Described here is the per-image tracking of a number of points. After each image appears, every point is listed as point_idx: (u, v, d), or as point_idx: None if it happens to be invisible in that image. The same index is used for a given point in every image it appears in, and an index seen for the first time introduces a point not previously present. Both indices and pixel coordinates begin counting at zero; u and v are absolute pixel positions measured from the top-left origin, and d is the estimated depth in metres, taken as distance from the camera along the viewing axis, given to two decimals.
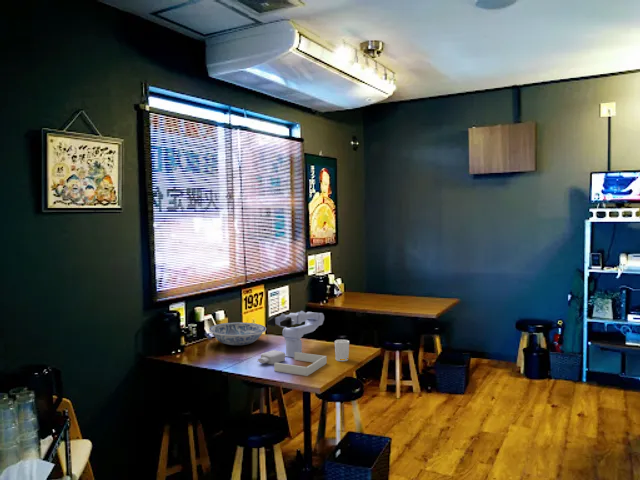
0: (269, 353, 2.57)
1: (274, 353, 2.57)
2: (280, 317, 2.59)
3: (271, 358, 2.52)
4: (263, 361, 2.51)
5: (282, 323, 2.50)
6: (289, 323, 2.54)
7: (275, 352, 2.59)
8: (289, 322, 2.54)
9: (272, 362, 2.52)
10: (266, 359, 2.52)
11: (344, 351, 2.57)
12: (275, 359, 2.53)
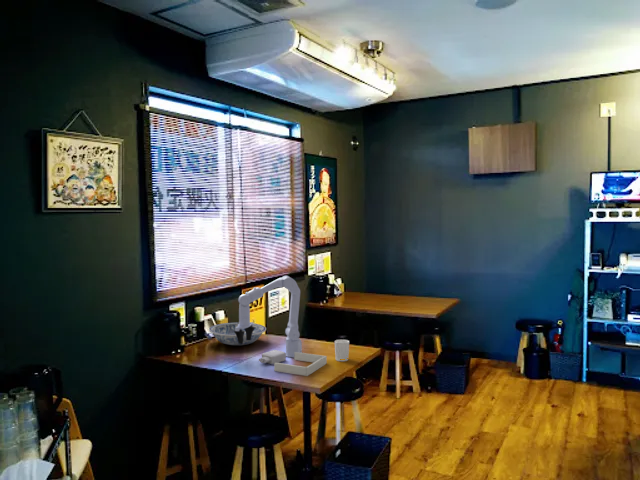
0: (270, 353, 2.57)
1: (275, 353, 2.57)
2: None
3: (272, 358, 2.52)
4: (264, 361, 2.51)
5: (239, 341, 2.58)
6: None
7: (276, 352, 2.59)
8: None
9: (273, 362, 2.52)
10: (267, 359, 2.52)
11: (344, 351, 2.57)
12: (276, 359, 2.54)
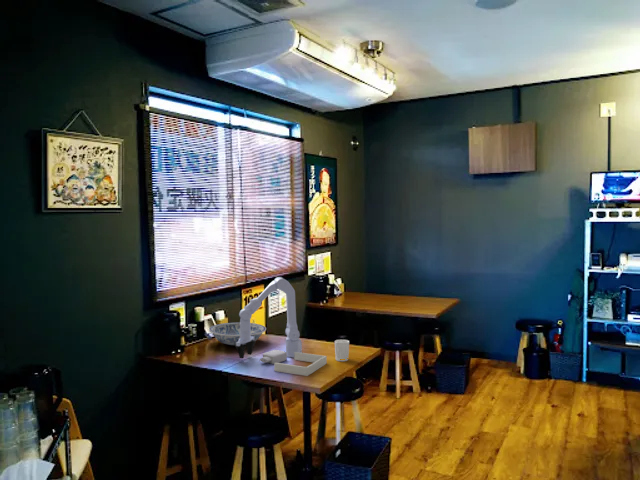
0: (271, 353, 2.58)
1: (276, 353, 2.58)
2: None
3: (273, 358, 2.53)
4: (265, 361, 2.52)
5: (240, 356, 2.58)
6: None
7: (277, 352, 2.60)
8: None
9: (274, 362, 2.53)
10: (268, 359, 2.53)
11: (344, 351, 2.57)
12: (277, 359, 2.54)
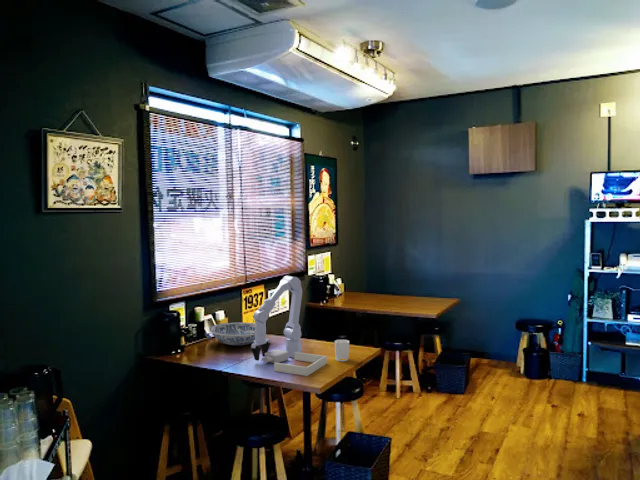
0: (273, 352, 2.58)
1: (278, 352, 2.58)
2: None
3: (275, 357, 2.53)
4: (267, 360, 2.52)
5: (256, 358, 2.54)
6: None
7: (279, 351, 2.60)
8: None
9: (276, 361, 2.53)
10: (270, 358, 2.53)
11: (344, 351, 2.57)
12: (279, 358, 2.54)
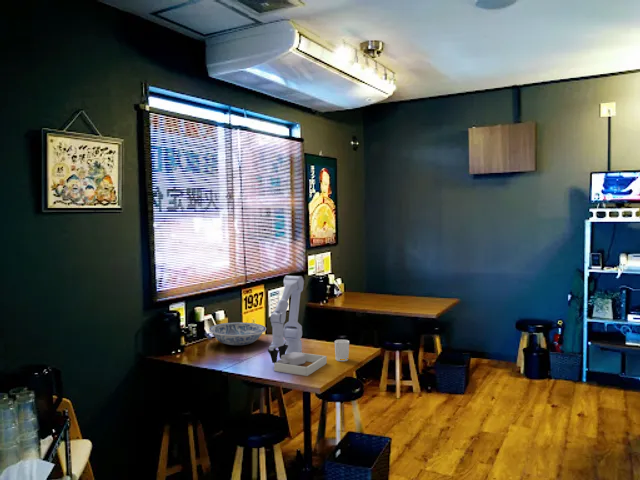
0: (289, 355, 2.53)
1: (294, 355, 2.52)
2: None
3: (290, 360, 2.48)
4: (282, 363, 2.47)
5: (273, 361, 2.49)
6: None
7: (295, 354, 2.54)
8: None
9: (291, 364, 2.48)
10: (285, 361, 2.48)
11: (344, 351, 2.57)
12: (294, 361, 2.49)
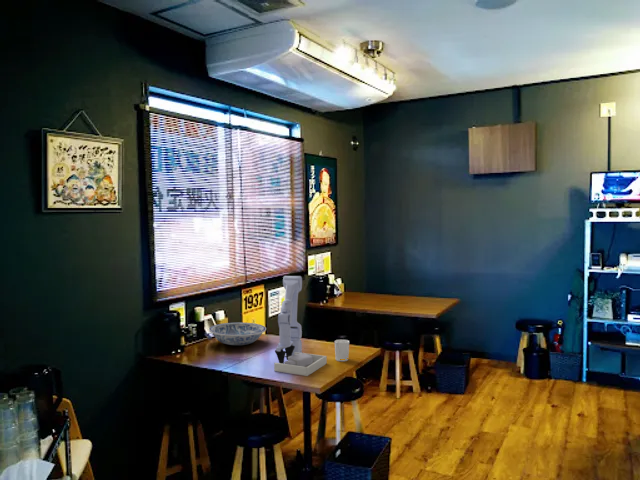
0: (296, 356, 2.51)
1: (301, 356, 2.51)
2: None
3: (297, 361, 2.46)
4: (289, 364, 2.45)
5: (280, 362, 2.48)
6: None
7: (302, 355, 2.52)
8: None
9: (298, 365, 2.46)
10: (292, 362, 2.46)
11: (344, 351, 2.57)
12: (302, 362, 2.47)
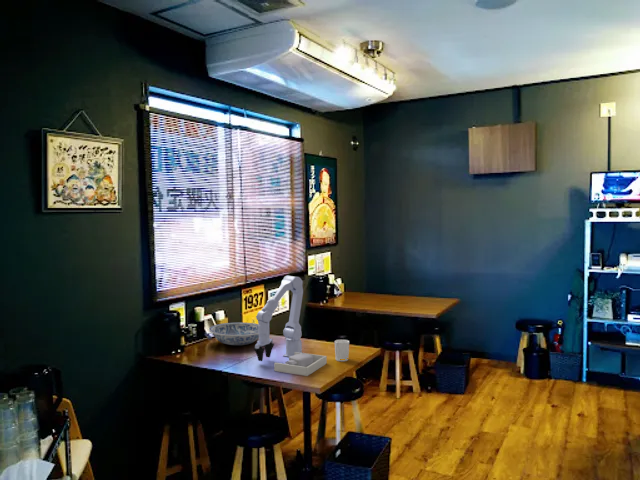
0: (297, 356, 2.51)
1: (302, 356, 2.51)
2: None
3: (299, 361, 2.46)
4: (290, 364, 2.45)
5: (259, 358, 2.53)
6: None
7: (304, 355, 2.53)
8: None
9: (300, 365, 2.46)
10: (294, 362, 2.46)
11: (344, 351, 2.57)
12: (303, 362, 2.47)
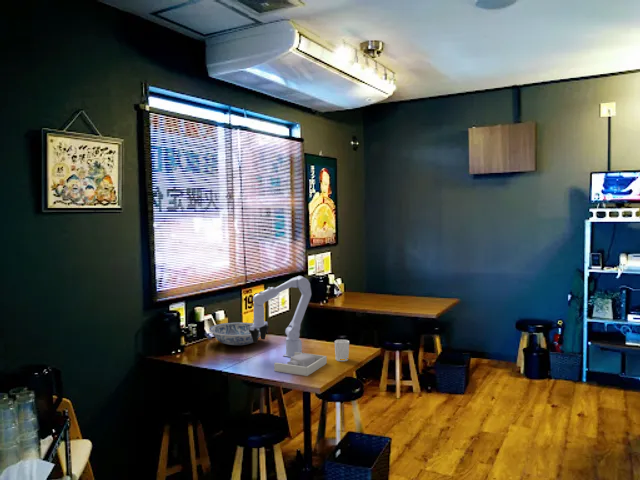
0: (299, 356, 2.51)
1: (304, 356, 2.50)
2: None
3: (301, 361, 2.46)
4: (293, 364, 2.45)
5: (254, 340, 2.60)
6: None
7: (305, 355, 2.52)
8: None
9: None
10: (296, 362, 2.46)
11: (344, 351, 2.57)
12: (305, 363, 2.47)
